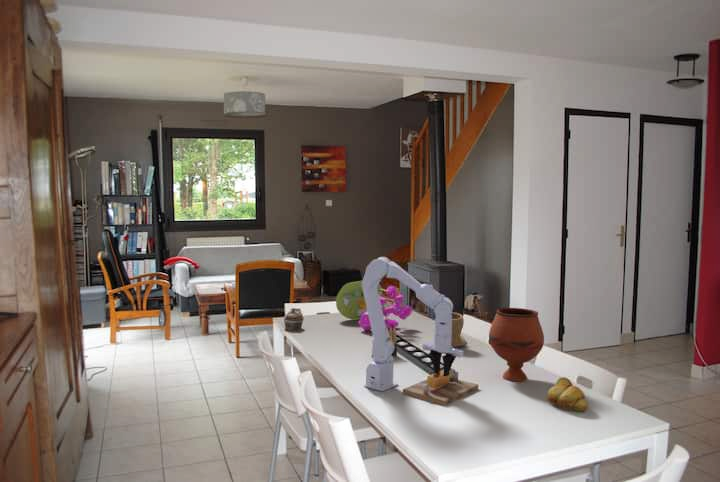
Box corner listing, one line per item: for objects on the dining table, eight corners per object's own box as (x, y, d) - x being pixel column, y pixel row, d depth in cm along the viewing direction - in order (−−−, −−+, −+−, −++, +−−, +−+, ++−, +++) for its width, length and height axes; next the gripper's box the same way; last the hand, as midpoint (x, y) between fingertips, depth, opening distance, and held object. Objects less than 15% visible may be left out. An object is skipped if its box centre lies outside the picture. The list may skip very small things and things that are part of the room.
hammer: (436, 389, 182) (437, 378, 181) (425, 386, 184) (425, 375, 184) (457, 380, 192) (457, 370, 191) (446, 377, 194) (446, 367, 194)
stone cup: (446, 351, 239) (448, 317, 238) (430, 345, 250) (431, 312, 249) (474, 348, 247) (475, 314, 246) (457, 341, 257) (458, 309, 256)
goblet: (481, 370, 213) (483, 305, 211) (530, 370, 214) (533, 306, 213) (496, 386, 194) (499, 315, 192) (550, 386, 195) (553, 316, 194)
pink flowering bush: (381, 263, 302) (414, 281, 271) (388, 311, 311) (421, 334, 280) (330, 279, 291) (358, 300, 260) (339, 328, 300) (367, 354, 269)
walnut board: (444, 405, 175) (445, 391, 174) (402, 393, 185) (403, 380, 184) (478, 388, 191) (478, 375, 191) (438, 378, 202) (438, 366, 201)
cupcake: (285, 326, 281) (285, 306, 280) (304, 326, 280) (304, 307, 280) (281, 330, 271) (282, 310, 270) (301, 331, 271) (302, 310, 270)
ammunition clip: (394, 354, 233) (395, 326, 232) (396, 355, 231) (397, 327, 230) (371, 356, 228) (372, 328, 227) (373, 358, 227) (374, 328, 226)
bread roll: (594, 412, 172) (596, 386, 172) (571, 416, 168) (572, 390, 168) (563, 398, 184) (564, 374, 184) (540, 402, 180) (541, 377, 180)
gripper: (468, 336, 185) (466, 376, 186) (431, 329, 194) (429, 367, 195) (457, 339, 180) (456, 381, 181) (419, 332, 189) (418, 371, 190)
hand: (441, 374), depth 188 cm, fingers closed on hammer, 3 cm apart
